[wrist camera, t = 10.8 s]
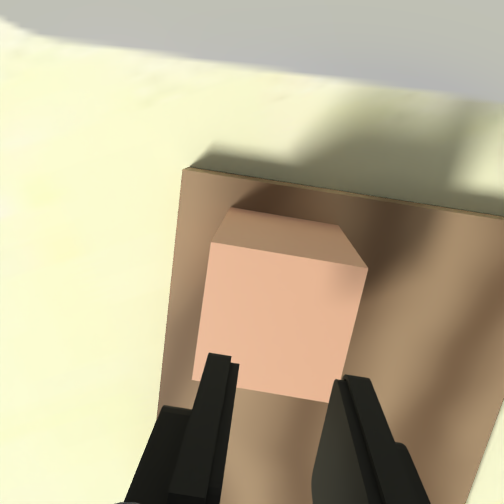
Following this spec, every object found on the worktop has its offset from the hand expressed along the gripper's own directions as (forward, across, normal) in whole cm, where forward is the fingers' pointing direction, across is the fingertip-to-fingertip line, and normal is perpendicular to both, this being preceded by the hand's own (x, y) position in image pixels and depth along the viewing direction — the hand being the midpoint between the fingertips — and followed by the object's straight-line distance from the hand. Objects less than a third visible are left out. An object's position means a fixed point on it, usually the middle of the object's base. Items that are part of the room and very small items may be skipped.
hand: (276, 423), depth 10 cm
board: (+13, -4, +6) cm, 15 cm away
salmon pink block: (+12, 0, 0) cm, 12 cm away
